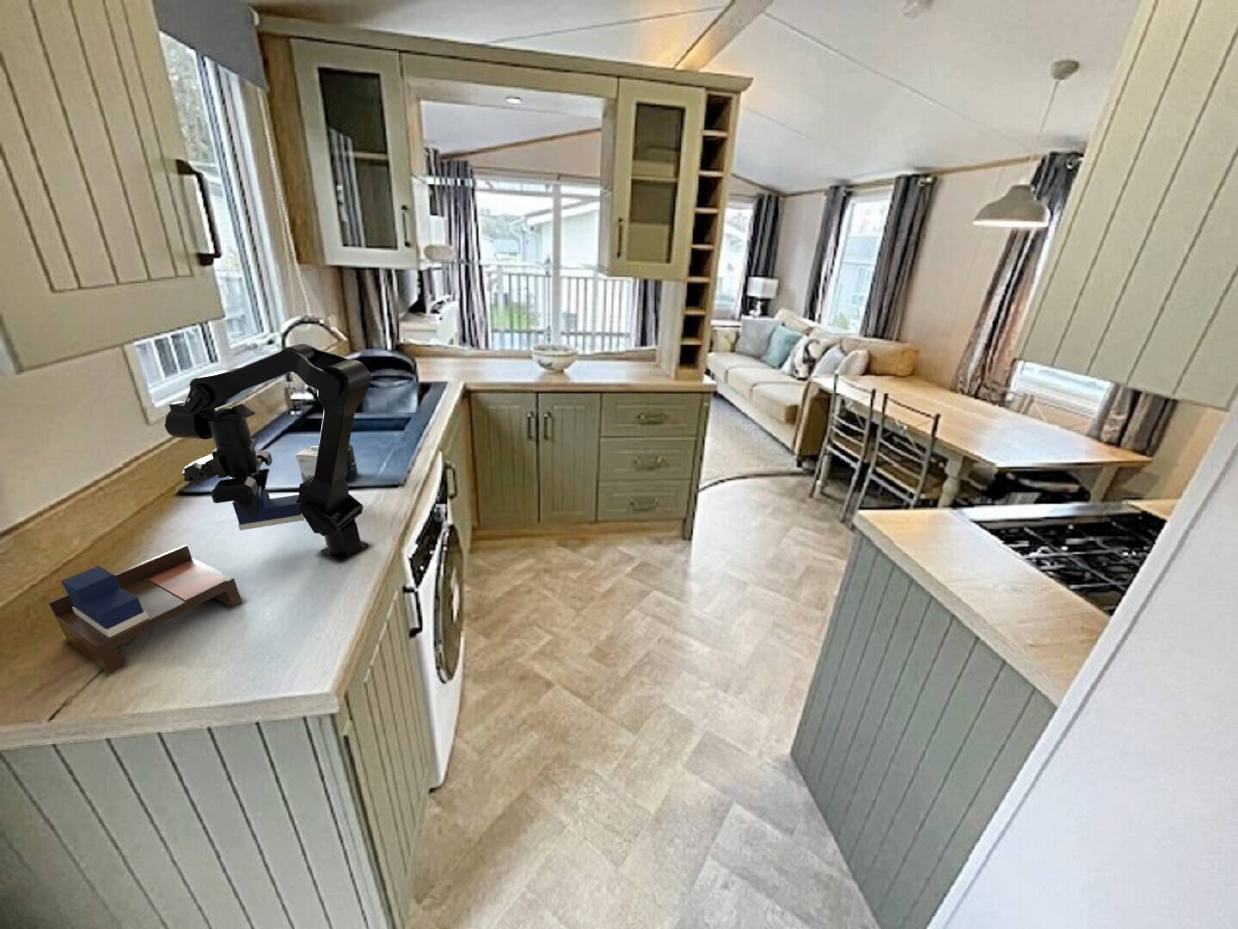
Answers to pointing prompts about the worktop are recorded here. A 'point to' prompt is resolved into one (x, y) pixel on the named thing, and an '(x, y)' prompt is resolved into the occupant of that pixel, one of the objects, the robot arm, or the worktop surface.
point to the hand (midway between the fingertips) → (255, 513)
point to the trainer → (270, 512)
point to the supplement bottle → (350, 466)
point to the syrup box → (307, 461)
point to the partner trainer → (103, 601)
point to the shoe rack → (148, 601)
